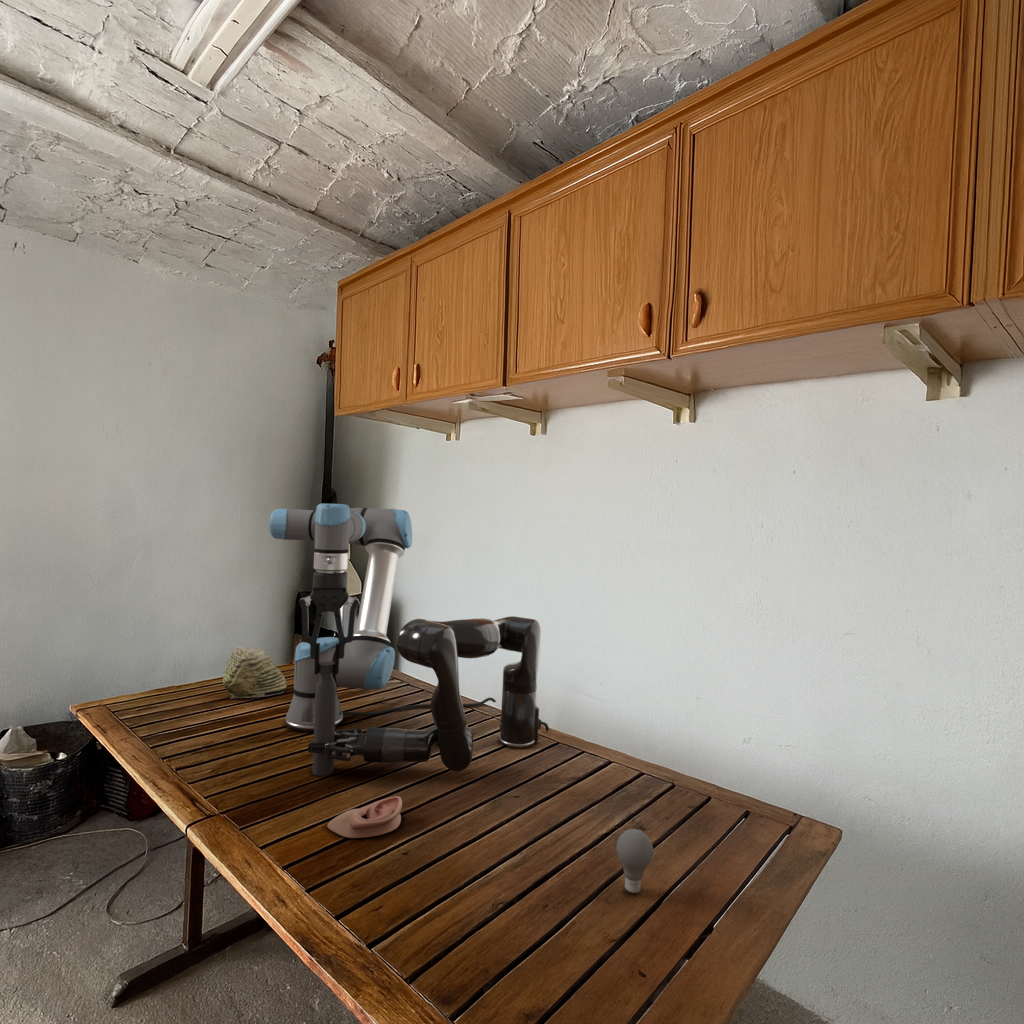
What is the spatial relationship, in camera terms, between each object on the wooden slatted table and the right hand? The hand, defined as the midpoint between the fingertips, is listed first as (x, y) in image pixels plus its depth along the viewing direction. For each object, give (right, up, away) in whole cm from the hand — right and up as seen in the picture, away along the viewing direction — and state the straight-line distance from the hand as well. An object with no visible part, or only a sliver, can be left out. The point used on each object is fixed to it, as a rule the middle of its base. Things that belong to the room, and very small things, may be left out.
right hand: (312, 742), depth 146 cm
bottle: (+2, -7, 0) cm, 7 cm away
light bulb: (+66, -10, -40) cm, 78 cm away
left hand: (+3, +16, 0) cm, 17 cm away
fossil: (-35, -4, +52) cm, 63 cm away
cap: (+3, +18, 0) cm, 18 cm away
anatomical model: (+17, -8, -22) cm, 29 cm away
